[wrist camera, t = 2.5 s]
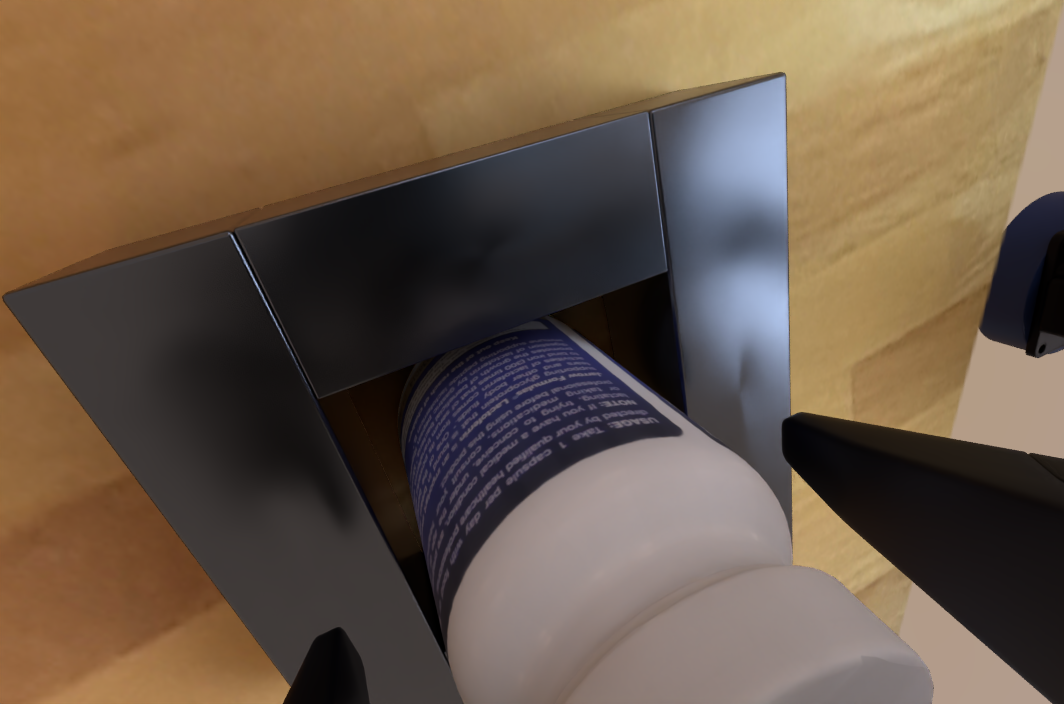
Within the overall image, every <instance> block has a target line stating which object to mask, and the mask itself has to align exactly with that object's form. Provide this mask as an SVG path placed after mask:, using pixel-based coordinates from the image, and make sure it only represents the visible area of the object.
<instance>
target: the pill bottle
mask: <svg viewBox="0 0 1064 704" xmlns="http://www.w3.org/2000/svg"><path fill="white" fill-rule="evenodd" d="M398 435H399V442H400V448H401V452H402V457H403V461H404V465H405V470H406V474H407V479H408V483H409V488H410V492H411V497H412V501H413V506H414V510H415V515H416V519H417V524H418V528H419V533H420V537H421V542H422V546H423V550H424V554H425V559H426V564H427V568H428V573H429V577H430V582H431V586H432V590H433V595H434V599H435V604H436V608H437V613H438V617H439V622H440V627H441V631H442V636H443V640H444V644H445V649H446V653H447V657H448V661H449V665H450V668H451V672H452V675H453V678H454V681H455V683H456V686H457V689H458V692H459V694H460V696H461V698H462V701H463V703H464V704H932V698H933V689H934V687H933V682H932V678H931V675H930V671H929V669H928V668H927V666H926V665H925V663H924V662H923V661H922V659H921V658H920V657H919V655H918V654H917V653H916V652H915V651H914V650H913V649H912V648H911V647H910V646H909V645H907V644H906V643H905V642H904V641H903V640H902V639H901V638H900V637H899V636H898V635H897V634H896V633H894V632H893V631H892V630H891V629H890V628H889V627H888V626H887V625H886V624H885V623H884V622H882V621H881V620H880V619H879V618H878V617H877V616H876V615H875V614H874V613H873V612H871V611H870V610H869V609H868V608H867V607H866V606H865V605H864V604H863V603H862V602H860V601H859V600H858V599H857V598H856V597H855V596H854V595H853V594H852V593H851V592H850V591H849V590H848V589H847V588H846V587H845V586H844V585H843V584H842V583H841V582H839V581H838V580H837V579H836V578H834V577H833V576H831V575H829V574H827V573H825V572H823V571H821V570H818V569H815V568H811V567H805V566H797V565H792V562H793V555H792V543H791V537H790V532H789V528H788V524H787V520H786V517H785V514H784V512H783V510H782V508H781V506H780V503H779V501H778V500H777V498H776V496H775V495H774V493H773V491H772V490H771V489H770V487H769V486H768V484H767V483H766V482H765V481H764V479H763V478H762V477H761V476H760V475H759V473H758V472H756V471H755V470H754V469H753V468H752V467H751V466H750V465H749V464H748V463H747V462H746V461H745V460H743V459H742V458H741V457H739V456H738V455H737V454H736V453H735V452H734V451H732V450H731V449H730V448H729V447H728V446H726V445H725V444H724V443H723V442H722V441H720V440H719V439H718V438H716V437H715V436H713V435H711V434H710V433H709V432H708V431H706V430H705V429H704V428H703V427H701V426H700V425H699V424H697V423H696V422H694V421H693V420H692V419H690V418H689V417H688V416H686V415H685V414H684V413H682V412H681V411H680V410H679V409H677V408H676V407H675V406H673V405H672V404H671V403H670V402H668V401H667V400H665V399H664V398H663V397H661V396H660V395H659V394H657V393H656V392H655V391H654V390H652V389H651V388H650V387H648V386H647V385H646V384H644V383H643V382H642V381H640V380H639V379H638V378H637V377H635V376H634V375H633V374H631V373H630V372H629V371H628V370H626V369H625V368H624V367H623V366H621V365H620V364H619V363H617V362H616V361H615V360H613V359H612V358H611V357H610V356H608V355H607V354H606V353H604V352H603V351H602V350H601V349H599V348H598V347H597V346H596V345H594V344H593V343H592V342H590V341H589V340H588V339H586V338H585V337H584V336H582V335H581V334H580V333H579V332H577V331H576V330H574V329H573V328H571V327H569V326H568V325H566V324H565V323H563V322H561V321H559V320H557V319H555V318H553V317H550V316H544V317H542V318H539V319H536V320H533V321H531V322H528V323H525V324H522V325H520V326H517V327H514V328H512V329H509V330H506V331H503V332H501V333H498V334H495V335H492V336H490V337H487V338H484V339H482V340H479V341H476V342H473V343H471V344H468V345H465V346H462V347H460V348H457V349H454V350H452V351H449V352H446V353H443V354H441V355H438V356H435V357H432V358H430V359H427V360H424V361H422V362H419V363H416V365H415V366H414V368H413V369H412V371H411V373H410V375H409V377H408V379H407V381H406V384H405V386H404V389H403V392H402V395H401V399H400V403H399V409H398Z"/></svg>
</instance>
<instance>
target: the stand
mask: <svg viewBox="0 0 1064 704" xmlns="http://www.w3.org/2000/svg"><path fill="white" fill-rule="evenodd" d="M602 295H603V298H604V304H605V309H606V314H607V320H608V325H609V331H610V336H611V341H612V347H613V352H614V358H615V361H616V362H617V363H619V364H620V365H621V366H623V367H624V368H625V369H626V370H628V371H629V372H630V373H631V374H633V375H634V376H635V377H637V378H638V379H639V380H640V381H642V382H643V383H644V384H646V385H647V386H648V387H650V388H651V389H652V390H654V391H655V392H656V393H657V394H659V395H660V396H661V397H663V398H664V399H665V400H667V401H668V402H670V403H671V404H672V405H673V406H675V407H676V408H677V409H679V410H680V411H681V412H682V413H684V414H685V415H686V416H688V417H689V418H690V419H692V420H693V421H694V422H696V423H697V424H699V425H700V426H701V427H703V428H704V429H705V430H706V431H708V432H709V433H710V434H711V435H713V436H715V437H716V438H718V439H719V440H720V441H722V442H723V443H724V444H725V445H726V446H728V447H729V448H730V449H731V450H732V451H734V452H735V453H736V454H737V455H738V456H739V457H741V458H742V459H743V460H745V461H746V462H747V463H748V464H749V465H750V466H751V467H752V468H753V469H754V470H755V471H756V472H758V473H759V475H760V476H761V477H762V478H763V479H764V481H765V482H766V483H767V484H768V486H769V487H770V489H771V490H772V491H773V493H774V495H775V496H776V498H777V500H778V501H779V503H780V506H781V508H782V510H783V512H784V514H785V517H786V520H787V524H788V528H789V532H790V537H791V543H792V473H791V466H790V465H789V464H788V462H787V461H786V460H785V458H784V456H783V453H782V429H781V426H782V422H783V420H784V419H786V418H788V417H790V416H791V399H790V325H789V250H788V176H787V102H786V74H785V73H783V72H778V73H772V74H767V75H761V76H755V77H750V78H744V79H739V80H733V81H728V82H722V83H717V84H711V85H706V86H700V87H695V88H689V89H684V90H678V91H674V92H671V93H667V94H663V95H660V96H656V97H653V98H649V99H646V100H642V101H638V102H635V103H631V104H628V105H624V106H620V107H617V108H613V109H610V110H606V111H603V112H599V113H595V114H592V115H588V116H585V117H581V118H578V119H574V120H572V121H567V122H563V123H559V124H556V125H552V126H549V127H545V128H541V129H538V130H534V131H531V132H527V133H524V134H520V135H516V136H513V137H509V138H506V139H502V140H499V141H495V142H491V143H488V144H484V145H481V146H477V147H473V148H470V149H466V150H463V151H459V152H456V153H452V154H448V155H445V156H441V157H438V158H434V159H431V160H427V161H423V162H420V163H416V164H413V165H409V166H405V167H402V168H398V169H395V170H391V171H388V172H384V173H380V174H377V175H373V176H370V177H366V178H363V179H359V180H355V181H352V182H348V183H345V184H341V185H338V186H334V187H330V188H327V189H323V190H320V191H316V192H312V193H309V194H305V195H302V196H298V197H295V198H291V199H287V200H284V201H280V202H277V203H273V204H270V205H266V206H264V207H263V208H256V209H252V210H248V211H245V212H241V213H238V214H234V215H231V216H227V217H223V218H220V219H216V220H213V221H209V222H205V223H202V224H198V225H195V226H191V227H188V228H184V229H180V230H177V231H173V232H170V233H166V234H163V235H159V236H155V237H152V238H148V239H145V240H141V241H138V242H134V243H130V244H127V245H123V246H120V247H116V248H112V249H109V250H106V251H103V252H101V253H98V254H96V255H94V256H91V257H89V258H87V259H84V260H82V261H80V262H77V263H75V264H73V265H70V266H68V267H65V268H63V269H61V270H58V271H56V272H54V273H51V274H49V275H47V276H44V277H42V278H40V279H37V280H35V281H32V282H30V283H28V284H25V285H23V286H21V287H18V288H16V289H14V290H11V291H9V292H7V293H5V294H4V295H3V296H2V298H3V301H4V303H5V304H6V305H7V307H8V308H9V309H10V311H11V312H12V313H13V315H14V316H15V317H16V319H17V320H18V321H19V323H20V324H21V325H22V327H23V328H24V329H25V331H26V332H27V333H28V335H29V336H30V338H31V339H32V340H33V342H34V343H35V344H36V346H37V347H38V348H39V350H40V351H41V352H42V354H43V355H44V356H45V358H46V359H47V360H48V362H49V363H50V364H51V366H52V367H53V368H54V370H55V371H56V372H57V374H58V375H59V376H60V378H61V379H62V380H63V382H64V383H65V384H66V386H67V387H68V389H69V390H70V391H71V393H72V394H73V395H74V397H75V398H76V399H77V401H78V402H79V403H80V405H81V406H82V407H83V409H84V410H85V411H86V413H87V414H88V415H89V417H90V418H91V419H92V421H93V422H94V423H95V425H96V426H97V427H98V429H99V430H100V431H101V433H102V434H103V436H104V437H105V438H106V440H107V441H108V442H109V444H110V445H111V446H112V448H113V449H114V450H115V452H116V453H117V454H118V456H119V457H120V458H121V460H122V461H123V462H124V464H125V465H126V466H127V468H128V469H129V470H130V472H131V473H132V474H133V476H134V477H135V478H136V480H137V481H138V483H139V484H140V485H141V487H142V488H143V489H144V491H145V492H146V493H147V495H148V496H149V497H150V499H151V500H152V501H153V503H154V504H155V505H156V507H157V508H158V509H159V511H160V512H161V513H162V515H163V516H164V517H165V519H166V520H167V521H168V523H169V524H170V525H171V527H172V528H173V529H174V531H175V532H176V534H177V535H178V536H179V538H180V539H181V540H182V542H183V543H184V544H185V546H186V547H187V548H188V550H189V551H190V552H191V554H192V555H193V556H194V558H195V559H196V560H197V562H198V563H199V564H200V566H201V567H202V568H203V570H204V571H205V572H206V574H207V575H208V576H209V578H210V579H211V581H212V582H213V583H214V585H215V586H216V587H217V589H218V590H219V591H220V593H221V594H222V595H223V597H224V598H225V599H226V601H227V602H228V603H229V605H230V606H231V607H232V609H233V610H234V611H235V613H236V614H237V615H238V617H239V618H240V619H241V621H242V622H243V623H244V625H245V626H246V628H247V629H248V630H249V632H250V633H251V634H252V636H253V637H254V638H255V640H256V641H257V642H258V644H259V645H260V646H261V648H262V649H263V650H264V652H265V653H266V654H267V656H268V657H269V658H270V660H271V661H272V662H273V664H274V665H275V666H276V668H277V669H278V670H279V672H280V673H281V675H282V676H283V677H284V679H285V680H286V681H287V683H288V684H289V685H290V687H291V686H292V684H293V682H294V680H295V677H296V675H297V673H298V671H299V669H300V667H301V665H302V663H303V661H304V659H305V657H306V655H307V653H308V651H309V649H310V646H311V644H312V642H313V641H314V639H315V638H316V637H317V636H319V635H321V634H323V633H325V632H327V631H330V630H332V629H334V628H336V627H341V628H342V629H343V630H344V631H345V632H346V634H347V635H348V637H349V639H350V640H351V642H352V643H353V645H354V647H355V648H356V650H357V652H358V653H359V655H360V657H361V659H362V662H363V666H364V670H365V676H366V682H367V689H368V695H369V701H370V704H464V703H463V701H462V698H461V696H460V694H459V692H458V689H457V686H456V683H455V681H454V678H453V675H452V672H451V668H450V665H449V661H448V657H447V653H446V649H445V644H444V640H443V636H442V631H441V627H440V622H439V617H438V613H437V608H436V604H435V599H434V595H433V590H432V586H431V582H430V577H429V573H428V568H427V564H426V559H425V554H424V550H423V553H422V550H421V548H420V546H419V544H418V542H417V540H416V538H415V535H414V533H413V531H412V529H411V527H410V525H409V522H408V520H407V518H406V516H405V514H404V512H403V509H402V507H401V505H400V503H399V501H398V499H397V496H396V494H395V492H394V490H393V488H392V486H391V484H390V481H389V479H388V477H387V475H386V473H385V471H384V468H383V466H382V464H381V462H380V460H379V458H378V455H377V453H376V451H375V449H374V447H373V445H372V443H371V440H370V438H369V436H368V434H367V432H366V430H365V427H364V425H363V423H362V421H361V419H360V417H359V414H358V412H357V410H356V408H355V406H354V404H353V401H352V399H351V397H350V395H349V393H348V391H347V389H348V388H351V387H353V386H356V385H359V384H362V383H364V382H367V381H370V380H373V379H375V378H378V377H381V376H383V375H386V374H389V373H392V372H394V371H397V370H400V369H402V368H405V367H408V366H411V365H413V364H416V363H419V362H422V361H424V360H427V359H430V358H432V357H435V356H438V355H441V354H443V353H446V352H449V351H452V350H454V349H457V348H460V347H462V346H465V345H468V344H471V343H473V342H476V341H479V340H482V339H484V338H487V337H490V336H492V335H495V334H498V333H501V332H503V331H506V330H509V329H512V328H514V327H517V326H520V325H522V324H525V323H528V322H531V321H533V320H536V319H539V318H542V317H544V316H547V315H550V314H552V313H555V312H558V311H561V310H563V309H566V308H569V307H572V306H574V305H577V304H580V303H582V302H585V301H588V300H591V299H593V298H596V297H599V296H602ZM792 554H793V547H792Z"/></svg>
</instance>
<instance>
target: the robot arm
mask: <svg viewBox="0 0 1064 704" xmlns="http://www.w3.org/2000/svg"><path fill="white" fill-rule="evenodd" d="M1062 346H1064V230H1061V231H1059V232H1057V233H1056V234H1054V236H1053V237H1052V238H1051V240H1050V242H1049V245H1048V249H1047V253H1046V258H1045V262H1044V267H1043V272H1042V276H1041V281H1040V286H1039V290H1038V295H1037V299H1036V304H1035V309H1034V313H1033V318H1032V323H1031V327H1030V332H1029V336H1028V341H1027V346H1026V352H1025V353H1026V355H1028V356H1032V357H1035V358H1040V357H1042V356H1044V355H1046V354H1048V353H1050V352H1052V351H1054V350H1056V349H1058V348H1060V347H1062ZM781 429H782V453H783V456H784V458H785V460H786V461H787V462H788V464H789V465H790V466H791V467H792V468H793V469H794V470H795V471H796V472H797V473H798V474H799V475H800V476H801V477H802V478H803V479H804V481H805V482H806V483H807V484H808V485H809V486H810V487H811V488H812V489H813V490H814V491H815V492H816V493H817V494H818V495H819V496H820V497H821V498H822V499H823V500H824V501H825V503H826V504H827V505H828V506H829V507H830V508H831V509H832V510H833V511H834V512H835V513H836V514H837V515H838V516H839V517H840V518H841V519H842V520H843V521H844V522H845V523H847V524H848V525H849V526H850V527H851V528H852V529H853V530H854V531H855V532H857V533H858V534H859V535H860V536H861V537H862V538H863V539H865V540H866V541H867V542H868V543H869V544H870V545H871V546H873V547H874V548H875V549H876V550H877V551H878V552H879V553H881V554H882V555H883V556H884V557H885V558H886V559H887V560H889V561H890V562H891V563H892V564H893V565H894V566H895V567H897V568H898V569H899V570H900V571H901V572H902V573H903V574H905V575H906V576H907V577H908V578H909V579H910V580H912V581H913V582H914V583H915V584H916V585H917V586H918V587H920V588H921V589H922V590H923V591H924V592H925V593H926V594H928V595H929V596H930V597H931V598H932V599H933V600H935V601H936V602H937V603H938V604H939V605H940V606H941V607H943V608H944V609H945V610H946V611H947V612H948V613H949V614H951V615H952V616H953V617H954V618H955V619H956V620H957V621H959V622H960V623H961V624H962V625H963V626H964V627H966V628H967V629H968V630H969V631H970V632H971V633H972V634H973V635H975V636H976V637H977V638H978V639H979V640H980V641H981V642H983V643H984V644H985V645H986V646H988V648H989V649H991V650H992V651H993V652H994V653H995V654H997V655H998V656H999V657H1000V658H1001V659H1002V660H1003V661H1004V662H1005V663H1007V664H1008V665H1009V666H1010V667H1011V668H1013V669H1014V670H1015V671H1016V672H1017V673H1018V674H1019V675H1021V676H1022V677H1023V678H1024V679H1025V680H1026V681H1027V682H1028V683H1030V684H1031V685H1032V686H1033V687H1034V688H1035V689H1036V690H1038V691H1039V692H1040V693H1041V694H1042V695H1043V696H1044V697H1046V698H1047V699H1048V700H1049V701H1050V702H1051V703H1052V704H1064V459H1062V458H1056V457H1051V456H1045V455H1039V454H1035V453H1030V454H1027V453H1026V452H1023V451H1017V450H1012V449H1006V448H1000V447H994V446H989V445H984V444H978V443H973V442H967V441H961V440H956V439H950V438H945V437H939V436H934V435H928V434H922V433H917V432H911V431H906V430H900V429H894V428H889V427H883V426H878V425H872V424H867V423H861V422H855V421H850V420H844V419H839V418H833V417H828V416H822V415H816V414H811V413H805V412H800V413H796V414H794V415H792V416H790V417H788V418H786V419H784V420H783V422H782V426H781ZM283 704H370V701H369V695H368V689H367V682H366V676H365V670H364V666H363V662H362V659H361V657H360V655H359V653H358V652H357V650H356V648H355V647H354V645H353V643H352V642H351V640H350V639H349V637H348V635H347V634H346V632H345V631H344V630H343V629H342V628H341V627H336V628H334V629H332V630H330V631H327V632H325V633H323V634H321V635H319V636H317V637H316V638H315V639H314V641H313V642H312V644H311V646H310V649H309V651H308V653H307V655H306V657H305V659H304V661H303V663H302V665H301V667H300V669H299V671H298V673H297V675H296V677H295V680H294V682H293V684H292V686H291V688H290V690H289V692H288V694H287V696H286V698H285V700H284V702H283Z"/></svg>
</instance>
